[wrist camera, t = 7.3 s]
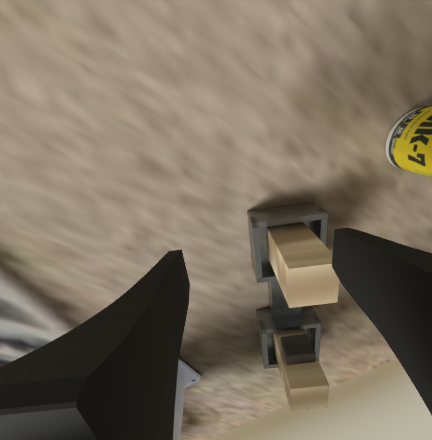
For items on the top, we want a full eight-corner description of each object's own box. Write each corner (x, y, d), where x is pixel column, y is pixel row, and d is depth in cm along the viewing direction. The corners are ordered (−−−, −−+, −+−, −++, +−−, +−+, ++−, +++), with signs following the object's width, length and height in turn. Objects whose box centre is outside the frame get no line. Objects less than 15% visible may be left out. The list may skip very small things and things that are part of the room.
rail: (308, 340, 27) (318, 362, 25) (259, 346, 27) (264, 368, 25) (313, 201, 20) (328, 212, 17) (247, 210, 20) (252, 223, 18)
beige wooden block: (266, 227, 19) (288, 268, 14) (304, 222, 19) (341, 262, 14) (269, 269, 21) (289, 320, 15) (303, 265, 21) (336, 315, 15)
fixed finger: (302, 345, 25) (327, 407, 20) (273, 348, 25) (290, 411, 20) (302, 317, 23) (330, 376, 18) (272, 320, 24) (290, 380, 18)
